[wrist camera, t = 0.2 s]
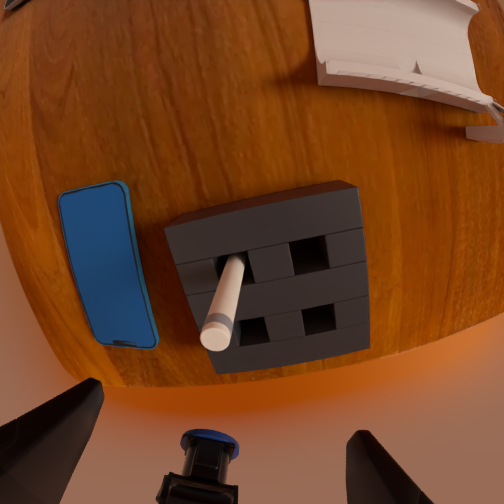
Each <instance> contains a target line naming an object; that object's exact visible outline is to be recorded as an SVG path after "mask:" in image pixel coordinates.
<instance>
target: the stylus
mask: <svg viewBox="0 0 504 504" xmlns="http://www.w3.org/2000/svg"><path fill="white" fill-rule="evenodd" d="M247 251H248V250H247ZM247 251H242V252H237V253H232V254H229V257H228V260H227V262H226V265H225V268H224V271H223V273H222V276H221V279H220V282H219V284H218V287H217V290H216V292H215V295H214V298H213V301H212V304H211V306H210V309H209V312H208V315H207V317H206V319H205V322H204V325H203V327H202V332H201V334H200V340H201V343H202V344H203V346H204V347H206V348H207V349H209V350H212V351H222V350H224V349H225V348H227V347H228V345H229V342H230V339H231V335H232V330H233V322H234V317H235V312H236V307H237V302H238V297H239V292H240V287H241V282H242V277H243V272H244V267H245V262H246V258H247V253H248V252H247Z"/></svg>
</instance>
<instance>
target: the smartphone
mask: <svg viewBox="0 0 504 504" xmlns="http://www.w3.org/2000/svg"><path fill="white" fill-rule="evenodd" d="M58 206H59V212H60V218H61V223H62V229H63V234H64V239H65V243H66V248H67V252H68V256H69V260H70V264H71V268H72V272H73V276H74V279H75V283H76V286H77V290H78V293H79V296H80V299H81V303H82V306H83V309H84V312H85V315H86V317H87V320H88V323H89V326H90V329H91V331H92V334H93V336H94V338H95V340H96V341H97V342H98V343H100V344H102V345H107V346H117V347H127V348H138V349H154V348H155V347H156V346H157V344H158V342H159V335H158V332H157V328H156V324H155V321H154V317H153V313H152V309H151V305H150V301H149V297H148V293H147V289H146V284H145V280H144V275H143V270H142V266H141V261H140V256H139V250H138V245H137V240H136V234H135V228H134V222H133V216H132V209H131V202H130V194H129V189H128V187H127V185H126V184H125V183H124V182H122V181H119V180H116V181H111V182H106V183H101V184H96V185H91V186H87V187H82V188H78V189H74V190H70V191H66V192H63V193H62V194H61V195H60V197H59V200H58Z"/></svg>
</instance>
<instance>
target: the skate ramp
mask: <svg viewBox="0 0 504 504" xmlns="http://www.w3.org/2000/svg"><path fill="white" fill-rule="evenodd" d="M308 1H309V7H310V14H311V21H312V30H313V38H314V46H315V56H316V66H317V77H318V85H322V86H339V87H351V88H361V89H370V90H377V91H385V92H391V93H397V94H403V95H408V96H414V97H419V98H424V99H428V100H433V101H437V102H441V103H445V104H449V105H453V106H456V107H460V108H463V109H467V110H470V111H473V112H477V113H485V112H489V113H490V114H491V115H492V117H493V118H494V119H495V121H496V122H497V123H498V125H499V126H465V127H466V138H468V139H473V140H477V141H479V142H492V143H504V126H503V125H504V118H502V116H501V115H500V113H499V112H503V113H504V107H502V106H501V105H499V104H497V102H496V103H495V102H493V100H496V99H492V97H490V96H487V95H485V94H483V93H482V92H481V91H480V89H479V87H478V84H477V81H476V77H475V71H474V65H473V60H472V55H471V50H470V46H469V42H468V36H467V29H468V24H469V21H470V19H471V18H472V16H473V15H474V14H476V13H478V12H479V10H478V9H479V8H477V6H478V5H477V4H476V3H474V2H472V1H470V0H308ZM478 4H479V3H478ZM479 6H480V5H479ZM480 10H481V8H480ZM322 21H323V22H322ZM333 22H334V23H333ZM342 23H343V24H342ZM350 24H351V25H350ZM357 25H358V26H357ZM375 28H376V29H375ZM380 29H381V30H380ZM385 30H386V31H385ZM390 31H391V32H390ZM414 37H415V38H414ZM428 41H429V42H428ZM449 48H450V49H449ZM457 51H458V52H457ZM500 121H501V122H500ZM502 124H503V125H502Z"/></svg>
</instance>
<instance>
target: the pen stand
mask: <svg viewBox="0 0 504 504" xmlns="http://www.w3.org/2000/svg"><path fill="white" fill-rule="evenodd" d="M164 232H165V235H166V238H167V241H168V244H169V247H170V251H171V254H172V257H173V260H174V263H175V265H176V269H177V272H178V275H179V277H180V280H181V283H182V286H183V289H184V292H185V295H186V298H187V300H188V303H189V306H190V308H191V311H192V314H193V316H194V319H195V322H196V324H197V326H198V329H199V332H200V334H201V332H202V327H203V325H204V322H205V319H206V317H207V315H208V312H209V309H210V306H211V304H212V301H213V298H214V295H215V292H216V290H217V287H218V284H219V282H220V279H221V276H222V273H223V271H224V268H225V265H226V262H227V257H226V255H227V254H232V253H237V252H242V251H247V250H248V251H247V252H248V256H249V260H250V262H249V263H245V267H244V272H243V277H242V282H241V287H240V292H239V297H238V302H237V307H236V312H235V317H234V322H233V330H232V335H231V339H230V342H229V345H228V347H227V348H225V349H224V350H222V351H212V350H209V349H207V348H206V349H207V352H208V355H209V357H210V359H211V362H212V364H213V367H214V369H215V371H216V374H226V373H236V372H245V371H253V370H260V369H268V368H274V367H281V366H287V365H293V364H299V363H304V362H310V361H315V360H320V359H325V358H330V357H334V356H339V355H343V354H348V353H352V352H356V351H360V350H364V349H368V348H370V307H369V285H368V269H367V261H366V260H367V257H366V246H365V236H364V228H363V218H362V210H361V203H360V196H359V189H358V187H357V186H354V185H352V184H349V183H347V182H344V181H341V180H339V181H334V182H328V183H323V184H317V185H312V186H307V187H301V188H296V189H291V190H286V191H281V192H277V193H272V194H267V195H262V196H258V197H253V198H249V199H244V200H240V201H235V202H231V203H227V204H222V205H218V206H214V207H210V208H206V209H202V210H198V211H194V212H190V213H186V214H182V215H181V216H179V217H178V218H177V219H175V220H174V221H173V222H171V223H170V224H169V225H168V226H166V227H165V228H164ZM316 236H317V238H318V244H319V249H314V250H309V251H304V252H299V253H294V254H291V253H290V248H289V243H288V242H291V241H296V240H301V239H306V238H311V237H316Z"/></svg>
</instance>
